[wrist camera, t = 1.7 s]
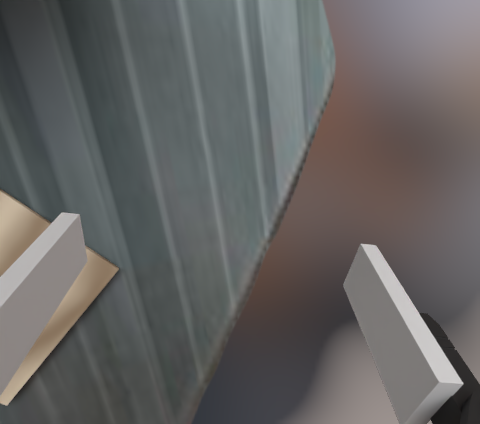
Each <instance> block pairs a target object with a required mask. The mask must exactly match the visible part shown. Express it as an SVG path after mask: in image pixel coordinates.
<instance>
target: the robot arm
mask: <svg viewBox="0 0 480 424" xmlns="http://www.w3.org/2000/svg"><path fill="white" fill-rule="evenodd" d="M87 261H88V260H87V254H86V248H85V243H84V237H83V231H82V225H81V219H80V214H72V213H63V212H62V213H61V214H60V215H59V216H58V217H57V218H56V219H55V220H54V221H53V222H52V223H51V224H50V226H49V227H48V228H47V229H46V230H45V231H44V232H43V233H42V234H41V235H40V236H39V237H38V238H37V239H36V240H35V241H34V242H33V243H32V244H31V245H30V246H29V248H28V249H27V250H26V251H25V252H24V253H23V254H22V255H21V256H20V257H19V258H18V259H17V260H16V261H15V262H14V263H13V264H12V265H11V266H10V267H9V268H8V269H7V271H6V272H5V273H4V274H3V275H2V276H1V277H0V396H1V394H2V393H3V391H4V390H5V388H6V387H7V385H8V384H9V382H10V380H11V379H12V377H13V376H14V374H15V373H16V371H17V370H18V368H19V367H20V365H21V363H22V362H23V360H24V359H25V357H26V356H27V354H28V353H29V351H30V349H31V348H32V346H33V345H34V343H35V342H36V340H37V339H38V337H39V336H40V334H41V332H42V331H43V329H44V328H45V326H46V325H47V323H48V322H49V320H50V319H51V317H52V315H53V314H54V312H55V311H56V309H57V308H58V306H59V305H60V303H61V301H62V300H63V298H64V297H65V295H66V294H67V292H68V291H69V289H70V288H71V286H72V284H73V283H74V281H75V280H76V278H77V277H78V275H79V274H80V272H81V271H82V269H83V267H84V266H85V264H86V263H87ZM343 286H344V289H345V291H346V293H347V296H348V298H349V301H350V303H351V306H352V308H353V310H354V313H355V316H356V318H357V320H358V323H359V325H360V328H361V330H362V333H363V335H364V338H365V340H366V343H367V345H368V347H369V350H370V352H371V355H372V357H373V359H374V362H375V365H376V367H377V370H378V372H379V375H380V377H381V379H382V382H383V384H384V387H385V389H386V392H387V394H388V397H389V399H390V402H391V404H392V406H393V409H394V411H395V414H396V416H397V419H398V421H399V424H427V423H428V422H429V421H430V420H431V421H432V423H433V424H480V384H479V383H478V381H477V380H476V378H475V377H474V375H473V374H472V372H471V371H470V370H469V368H468V367H467V365H466V364H465V362H464V361H463V359H462V358H461V356H460V355H459V353H458V352H457V350H455V349H454V348H455V347H454V346H453V344H452V343H451V342H450V340H448V337H447V335H446V334H445V332H444V331H443V330H442V328H441V327H440V325H439V324H438V323H437V322H436V321H434V320H433V319H432V318H431V317H430V316H429V315H428V314H424V313H418V311H417V309H416V308H415V306H414V305H413V303H412V302H411V300H410V298H409V297H408V295H407V294H406V292H405V290H404V289H403V287H402V286H401V284H400V283H399V281H398V279H397V278H396V276H395V275H394V273H393V271H392V270H391V268H390V267H389V265H388V264H387V262H386V260H385V259H384V257H383V256H382V254H381V253H380V251H379V249H378V248H377V246H376V245H367V244H360V247H359V249H358V251H357V254H356V256H355V258H354V261H353V263H352V265H351V268H350V270H349V272H348V275H347V277H346V280H345V282H344V284H343Z"/></svg>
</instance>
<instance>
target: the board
mask: <svg viewBox="0 0 480 424" xmlns="http://www.w3.org/2000/svg"><path fill="white" fill-rule="evenodd" d="M50 224H51V222H50V221H48V220H47V219H45V218H44V217H42V216H41V215H39V214H37V213H36V212H34V211H33V210H31V209H30V208H28V207H27V206H25V205H24V204H22V203H21V202H19V201H18V200H16V199H15V198H13V197H12V196H10V195H9V194H7V193H6V192H4V191H3V190H1V189H0V277H1V276H2V275H3V274H4V273H5V272H6V271H7V269H8V268H9V267H10V266H11V265H12V264H13V263H14V262H15V261H16V260H17V259H18V258H19V257H20V256H21V255H22V254H23V253H24V252H25V251H26V250H27V249H28V248H29V246H30V245H31V244H32V243H33V242H34V241H35V240H36V239H37V238H38V237H39V236H40V235H41V234H42V233H43V232H44V231H45V230H46V229H47V228H48V227H49V226H50ZM85 248H86V254H87V260H88V261H87V263H86V264H85V266H84V267H83V269H82V271H81V272H80V274H79V275H78V277H77V278H76V280H75V281H74V283H73V284H72V286H71V288H70V289H69V291H68V292H67V294H66V295H65V297H64V298H63V300H62V301H61V303H60V305H59V306H58V308H57V309H56V311H55V312H54V314H53V315H52V317H51V319H50V320H49V322H48V323H47V325H46V326H45V328H44V329H43V331H42V332H41V334H40V336H39V337H38V339H37V340H36V342H35V343H34V345H33V346H32V348H31V349H30V351H29V353H28V354H27V356H26V357H25V359H24V360H23V362H22V363H21V365H20V367H19V368H18V370H17V371H16V373H15V374H14V376H13V377H12V379H11V380H10V382H9V384H8V385H7V387H6V388H5V390H4V391H3V393H2V394H1V396H0V403H1V404H4V405H6V406H7V405H8V404H9V403H10V401H11V400H12V399H13V398H14V396H15V395H16V394H17V393H18V392H19V390H20V389H21V388H22V387H23V385H24V384H25V383H26V382H27V381H28V379H29V378H30V377H31V376H32V374H33V373H34V372H35V371H36V370H37V368H38V367H39V366H40V365H41V364H42V362H43V361H44V360H45V359H46V357H47V356H48V355H49V354H50V353H51V351H52V350H53V349H54V348H55V346H56V345H57V344H58V343H59V342H60V340H61V339H62V338H63V337H64V336H65V334H66V333H67V332H68V331H69V329H70V328H71V327H72V326H73V325H74V323H75V322H76V321H77V320H78V318H79V317H80V316H81V315H82V314H83V312H84V311H85V310H86V309H87V307H88V306H89V305H90V304H91V303H92V301H93V300H94V299H95V298H96V297H97V295H98V294H99V293H100V292H101V290H102V289H103V288H104V287H105V286H106V284H107V283H108V282H109V281H110V279H111V278H112V277H113V276H114V275H115V273H116V272H117V271H118V270H119V268H118V267H117V266H116V265H114V264H113V263H111V262H110V261H108V260H107V259H105V258H104V257H102V256H101V255H99V254H98V253H96V252H95V251H93V250H92V249H90V248H89V247H87V246H86V245H85Z"/></svg>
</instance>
